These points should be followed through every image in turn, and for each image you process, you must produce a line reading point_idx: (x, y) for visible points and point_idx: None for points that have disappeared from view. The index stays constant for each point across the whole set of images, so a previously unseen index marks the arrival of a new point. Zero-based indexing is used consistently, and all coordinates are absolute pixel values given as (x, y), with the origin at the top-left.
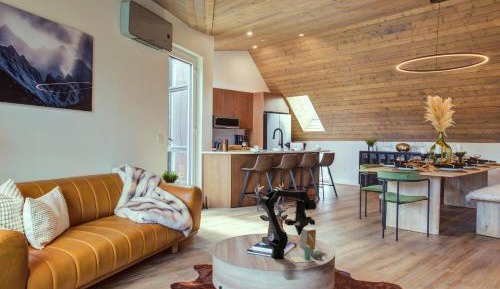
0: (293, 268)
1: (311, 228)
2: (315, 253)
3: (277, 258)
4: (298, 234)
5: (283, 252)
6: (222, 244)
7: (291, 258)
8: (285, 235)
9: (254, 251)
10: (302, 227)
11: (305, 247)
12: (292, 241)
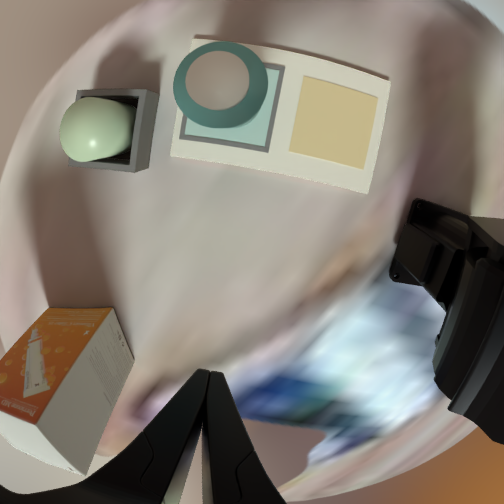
0: (449, 22)
1: (1, 429)
2: (121, 108)
3: (459, 213)
4: (227, 391)
5: (431, 233)
6: (460, 435)
7: (369, 167)
8: None
9: None
10: (120, 501)
11: (266, 79)
12: (139, 432)
